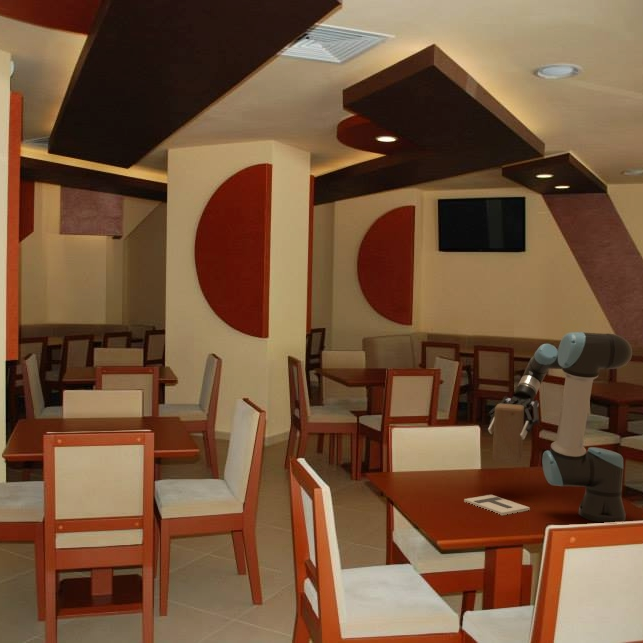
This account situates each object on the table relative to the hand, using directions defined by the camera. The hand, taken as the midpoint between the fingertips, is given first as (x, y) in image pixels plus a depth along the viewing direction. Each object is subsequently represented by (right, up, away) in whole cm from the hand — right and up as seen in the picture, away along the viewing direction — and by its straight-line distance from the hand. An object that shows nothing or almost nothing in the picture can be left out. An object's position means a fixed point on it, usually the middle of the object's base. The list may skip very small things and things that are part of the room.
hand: (505, 434), depth 286 cm
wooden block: (+1, -10, +2) cm, 10 cm away
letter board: (-6, -24, -11) cm, 27 cm away
